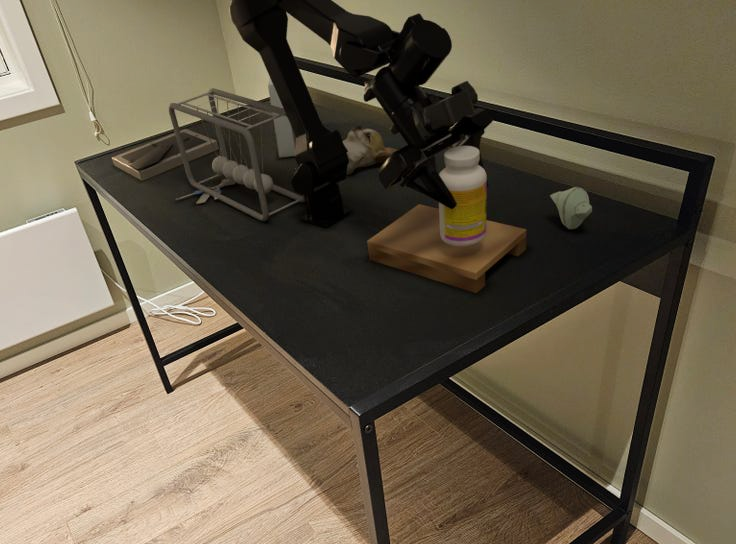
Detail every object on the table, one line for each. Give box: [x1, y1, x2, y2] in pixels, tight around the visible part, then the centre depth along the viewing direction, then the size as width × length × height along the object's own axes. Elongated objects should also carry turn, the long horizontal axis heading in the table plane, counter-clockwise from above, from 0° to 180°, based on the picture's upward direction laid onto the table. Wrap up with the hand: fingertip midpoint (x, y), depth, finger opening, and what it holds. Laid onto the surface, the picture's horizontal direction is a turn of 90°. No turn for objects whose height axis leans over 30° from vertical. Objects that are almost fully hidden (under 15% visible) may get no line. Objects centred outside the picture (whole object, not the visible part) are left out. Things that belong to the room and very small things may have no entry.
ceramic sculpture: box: [342, 125, 398, 176], centre depth 134 cm, size 11×9×15 cm
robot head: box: [549, 186, 593, 230], centre depth 103 cm, size 8×4×7 cm, turn 25°
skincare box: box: [267, 56, 296, 159], centre depth 150 cm, size 21×5×16 cm, turn 179°
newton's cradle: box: [168, 87, 305, 222], centre depth 129 cm, size 30×10×18 cm, turn 38°
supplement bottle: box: [438, 146, 488, 246], centre depth 93 cm, size 7×7×13 cm
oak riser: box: [366, 203, 527, 294], centre depth 103 cm, size 20×14×4 cm
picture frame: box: [111, 128, 220, 182], centre depth 158 cm, size 16×3×21 cm
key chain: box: [175, 178, 237, 205], centre depth 137 cm, size 14×8×1 cm, turn 126°
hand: (470, 197), depth 92 cm, fingers closed on supplement bottle, 6 cm apart
